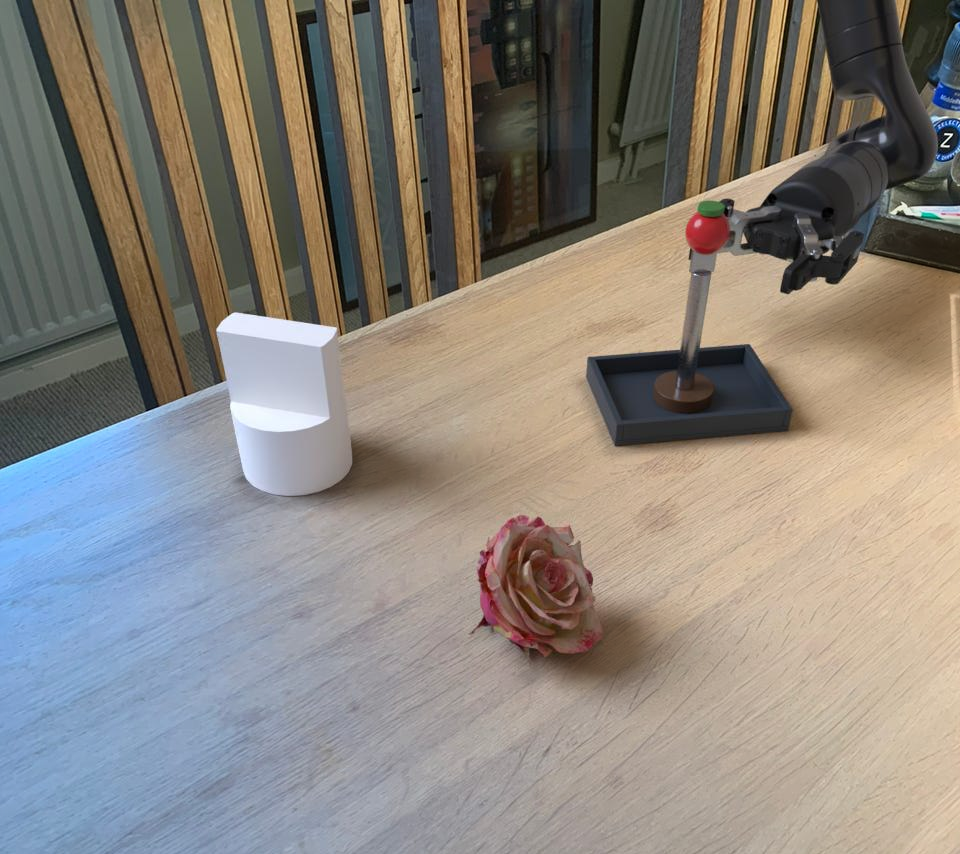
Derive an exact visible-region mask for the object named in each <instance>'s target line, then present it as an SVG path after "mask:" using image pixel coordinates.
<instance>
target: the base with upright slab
mask: <svg viewBox="0 0 960 854" xmlns="http://www.w3.org/2000/svg"><path fill="white" fill-rule="evenodd" d="M215 332H216V337H217V341H218V347H219V351H220V355H221V361H222V366H223V369H224V376H225V380H226V385H227V389H228V395H229V399H230V405H229V408H230V413H231V419H232V422H233V428H234V433H235V438H236V443H237V447H238V453H239V457H240V462H241V466H242V471H243V474H244V477H245V479H246V480H247V481H248V483H250V485H251V486H252V487H254V488H256V489H258V490H260V491H261V492H264V493H268V494H271V495H275V496H284V497H296V496H298V497H299V496H306V495H312V494H316V493H320V492H321V491H324V490H327V489H330V488H332V487H333V486H335V485H337V483H339V482H341V481H342V480H343V479H344V478H345V477H346V476H347V475H348V474H349V472H350V470H351V468H352V466H353V449H352V442H351V432H350V425H349V424H350V423H349V415H348V406H347V397H346V392H345V386H344V377H343V369H342V361H341V351H340V343H339V334H338V327H337V326H336V327H335V326H328V325H323V324H316V323H308V322H302V321H297V320H289V319H282V318H275V317H268V316H263V315H262V316H261V315H257V314H256V315H255V314H248V313H241V312H236V311H235V312H233V313H231V314H229V315H228V316H226V317H225V318H224V319H223V320H222V321H221V322H220V323H219V325H218V326H217V328H216V331H215Z"/></svg>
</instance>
